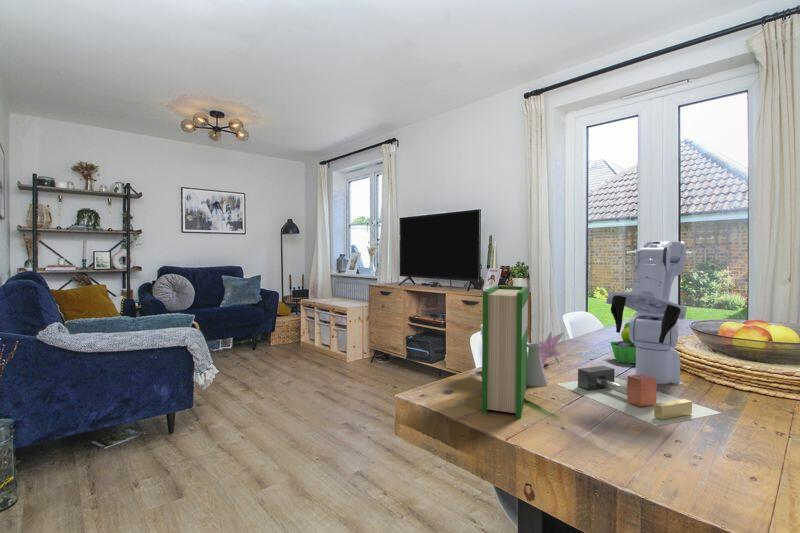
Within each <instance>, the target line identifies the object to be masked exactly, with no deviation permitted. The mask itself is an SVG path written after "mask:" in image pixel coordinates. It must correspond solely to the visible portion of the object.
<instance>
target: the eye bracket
mask: <svg viewBox="0 0 800 533" xmlns="http://www.w3.org/2000/svg"><path fill="white" fill-rule="evenodd" d="M615 370H616V369H615V368H612V367H610V366H606V365H599V366H598V365H597V366H592V367H591V366H589V367H581V368H578V369H577V381H578V387H579V388H582V389H584V390H587V391H591V390H598V389H605V388H606V387H603V386H601V385H598V384H597V377H599V378H602V379H605V380H608V381H611V382H614V378H615V377H616V376H615V374H616V373H615Z"/></svg>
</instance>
